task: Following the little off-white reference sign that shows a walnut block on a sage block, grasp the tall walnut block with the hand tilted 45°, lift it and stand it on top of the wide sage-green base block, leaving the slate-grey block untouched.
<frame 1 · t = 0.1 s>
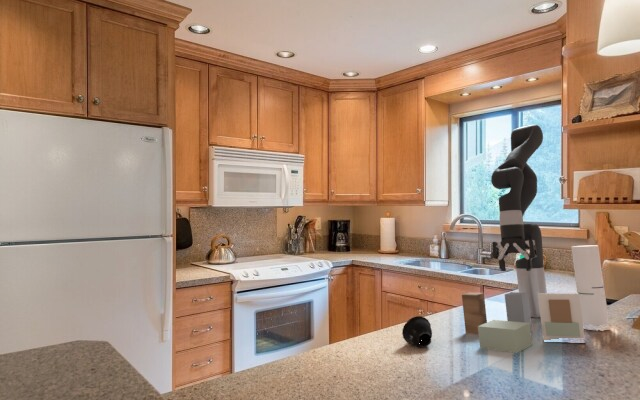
hand: (515, 270, 144), 17 cm above the countertop, tool pointing down, fingers open, 8 cm apart
sage base block: (506, 347, 114), on the countertop
reference sign: (563, 341, 115), on the countertop
walnut block: (476, 332, 133), on the countertop
slate block: (520, 333, 127), on the countertop
small rounded object: (417, 343, 125), on the countertop
cylindrical container: (595, 329, 127), on the countertop
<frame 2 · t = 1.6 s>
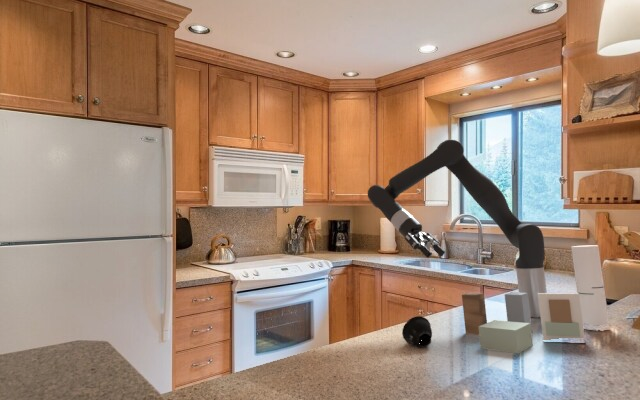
hand: (436, 255, 143), 25 cm above the countertop, tool tilted 45°, fingers open, 8 cm apart
nothing on the countertop moved.
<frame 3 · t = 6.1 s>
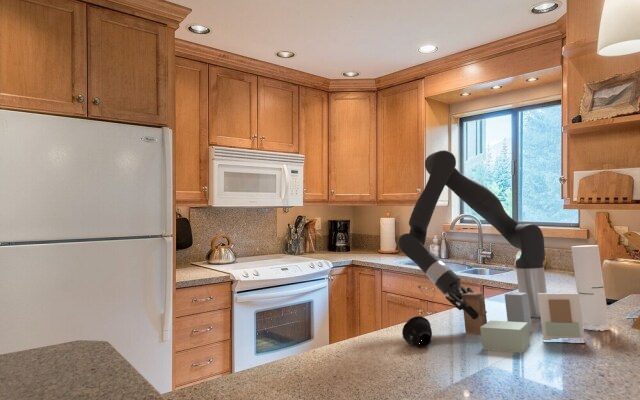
hand: (480, 315, 132), 5 cm above the countertop, tool tilted 45°, fingers closed on walnut block, 5 cm apart
walnut block: (476, 332, 133), on the countertop, touching gripper
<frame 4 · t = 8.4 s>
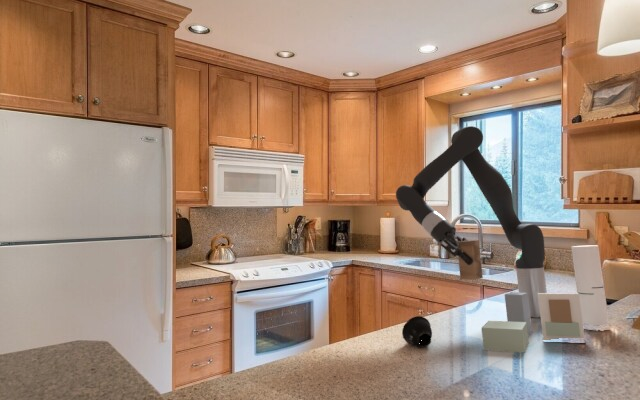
hand: (475, 262, 133), 22 cm above the countertop, tool tilted 45°, fingers closed on walnut block, 5 cm apart
walnut block: (471, 278, 134), point 17 cm above the countertop, touching gripper
when the fingers open (13 cm above the countertop, at t = 12.2 s): walnut block drops 2 cm, resting on sage base block.
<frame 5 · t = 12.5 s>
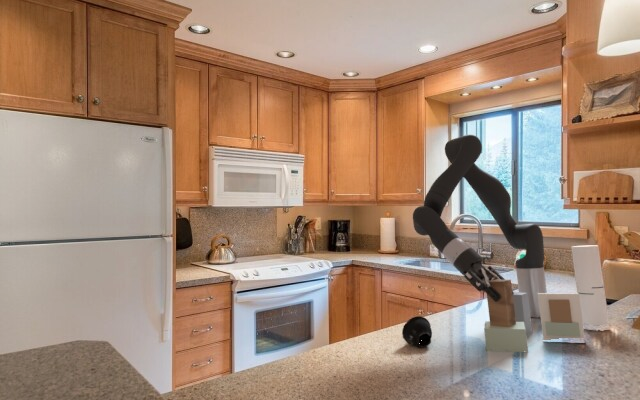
hand: (505, 297, 115), 13 cm above the countertop, tool tilted 45°, fingers open, 7 cm apart
sage base block: (506, 347, 114), on the countertop, touching walnut block
walnut block: (503, 324, 115), point 6 cm above the countertop, touching sage base block
everything else where it was.
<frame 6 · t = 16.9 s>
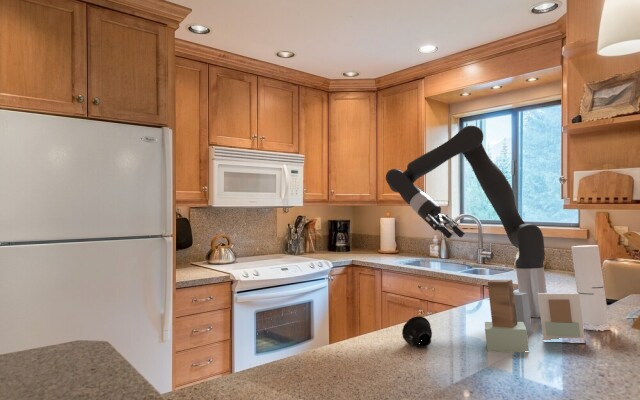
hand: (456, 236, 145), 31 cm above the countertop, tool tilted 45°, fingers open, 8 cm apart
walnut block: (505, 325, 114), point 6 cm above the countertop, touching sage base block
everything else where it was.
at the end: walnut block 0.3 cm off-centre on the sage base block, point 6.1 cm above the sage base block's base; walnut block tilted 1°; slate block moved 0.0 cm from its start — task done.
